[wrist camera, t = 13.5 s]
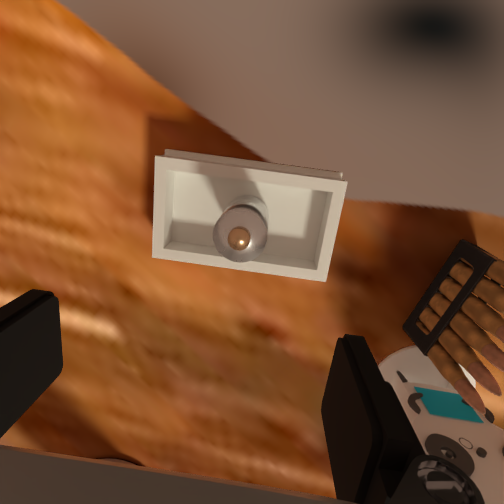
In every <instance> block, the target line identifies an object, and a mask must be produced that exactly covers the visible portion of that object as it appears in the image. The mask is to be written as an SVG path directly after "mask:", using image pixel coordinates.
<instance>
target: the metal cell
mask: <svg viewBox="0 0 504 504" xmlns="http://www.w3.org/2000/svg"><path fill="white" fill-rule="evenodd" d="M268 220H269V213H268V209H267V207H266V205H265V203H264V202H263V201H262V200H261V199H259V198H258V197H256V196H253V195H242V196H239V197H237V198H235V199H234V200H233V201H232V202H231V203H230V204H229V206H228V207H227V208H226V210H225V211H224V212H223V214H222V215H221V216H220V218H219V219H218V220H217V222H216V224H215V226H214V229H213V241H214V245H215V247H216V249H217V250H218V252H219V253H220V254H221V255H222V256H223V257H225V258H226V259H228V260H230V261H233V262H240V263H241V262H248V261H251V260H253V259H255V258H257V257H258V256H259V255H260V254H261V253H262V252H263V250H264V248H265V246H266V243H267V234H268Z"/></svg>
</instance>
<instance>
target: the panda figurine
mask: <svg viewBox="0 0 504 504" xmlns="http://www.w3.org/2000/svg"><path fill="white" fill-rule="evenodd" d="M459 365H460V364H459ZM460 367H461V368H462V370H463V372H464V374H465V376H466V377H467V378H468V380H469V381H470V383H471V384H472V385H473V387H474V388H475V385H476V382H475V379H474V378H473V377H472V376H471V375H470V374H469V373H468V372H467V371H466V370H465V369H464V368H463V367H462V366H461V365H460ZM378 368H379V370H380V372H381V374H382V376H383V378H384V380H385V381H387V382H389V383H390V384H391V385H392V387H393V389H394V391H395V393H396V395H397V397H398V399H399V401H400V403H401V405H402V407H403V409H404V411H405V413H406V415H407V417H408V419H409V421H410V423H411V425H412V427H413V429H414V431H415V433H416V435H417V437H418V439H419V441H420V443H421V445H422V447H423V449H424V451H425V453H426V455H434V456H437V457H440V458H443V459H445V460H447V461H449V462H451V463H453V464H454V465H456V466H457V467H458V468H460V469H461V470H462V471H464V472H465V473H466V474H467V475H468V476H469V477H470V478H471V479H472V480H473V482H474V483H475V484H476V486H477V487H478V489H479V490H480V492H481V494H482V497H483V499H484V502H485V504H504V430H503V429H501V428H500V427H498V426H496V425H494V424H492V423H493V421H494V415H493V414H492V413H491V412H490V411H489V410H488V409H487V408H486V407H485V410H486V414H484V415H485V417H484V415H483V414H481V413H480V412H478V411H476V410H475V409H474V408H473V407H471V406H470V405H469V404H468V403H467V402H466V401H465V400H464V399H463V398H462V397H461V396H460V394H459V393H458V392H457V390H455V389H454V387H453V386H452V385H451V384H450V383H449V382H448V381H447V380H446V379H445V378H444V377H443V376H442V375H441V373H440V372H439V371H438V369H437V368H436V367H435V365H434V364H433V363H432V361H431V360H430V358H429V357H428V356H424V354H423V353H422V352H421V351H420V350H419V348H418V347H417V346H416V345H413V346H409V347H406V348H403V349H400V350H398V351H396V352H394V353H392V354H391V355H389V356H388V357H386V358H385V359H384V360H383V361H382V362H381V363H380V364H379V365H378Z"/></svg>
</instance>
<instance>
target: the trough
mask: <svg viewBox="0 0 504 504" xmlns="http://www.w3.org/2000/svg"><path fill="white" fill-rule="evenodd" d="M342 174H343V173H342V172H336V171H328V170H320V169H314V168H306V167H299V166H291V165H284V164H276V163H269V162H262V161H254V160H247V159H239V158H232V157H224V156H217V155H210V154H202V153H195V152H187V151H180V150H172V149H165V155H158V156H155V175H154V209H153V244H152V257H153V258H160V259H167V260H174V261H181V262H188V263H195V264H202V265H209V266H216V267H223V268H231V269H238V270H245V271H252V272H259V273H266V274H273V275H280V276H287V277H294V278H301V279H308V280H315V281H322V282H326V279H327V275H328V270H329V265H330V261H331V256H332V252H333V247H334V242H335V238H336V233H337V229H338V224H339V219H340V215H341V210H342V206H343V201H344V196H345V191H346V187H347V183H348V182H347V181H345V180H343V179H342ZM242 195H253V196H256V197H258V198H259V199H261V200H262V201H263V202H264V203H265V205H266V207H267V209H268V213H269V220H268V234H267V243H266V246H265V248H264V250H263V252H262V253H261V254H260V255H259V256H258V257H257V258H255V259H253V260H251V261H248V262H241V263H240V262H233V261H230V260H228V259H226V258H225V257H223V256H222V255H221V254H220V253H219V252H218V250H217V249H216V247H215V245H214V241H213V229H214V226H215V224H216V222H217V220H218V219H219V218H220V216H221V215H222V214H223V212H224V211H225V210H226V208H227V207H228V206H229V204H230V203H231V202H232V201H233V200H234V199H235V198H237V197H239V196H242Z"/></svg>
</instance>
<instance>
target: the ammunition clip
mask: <svg viewBox="0 0 504 504" xmlns="http://www.w3.org/2000/svg"><path fill="white" fill-rule="evenodd" d="M473 268H474V269H473ZM484 275H486V276H488V277H490V278H491V280H490V279H488V278H487V277H485V276H484ZM462 285H463V286H462ZM500 285H503V286H504V261H502V260H500V259H498V258H497V257H495V256H493V255H492V254H490V253H488V252H487V251H485V250H483V249H482V248H480V247H478V246H476V245H474V244H472V243H470V242H467V241H465V240H460V242H459V243H458V245H457V246H456V248H455V249H454V251H453V252H452V254H451V255H450V257H449V258H448V260H447V261H446V263H445V264H444V266H443V267H442V269H441V270H440V271H439V273H438V274H437V276H436V277H435V279H434V280H433V282H432V283H431V285H430V286H429V288H428V289H427V291H426V292H425V294H424V295H423V297H422V298H421V300H420V301H419V303H418V304H417V306H416V307H415V309H414V310H413V312H412V313H411V315H410V316H409V317H408V319H407V320H406V322H405V323H404V325H403V330H404V331H405V332H406V333H407V335H408V336H409V337H410V338H411V340H412V341H413V342H414V343H415V345H416V346H417V347H418V348H419V350H420V351H421V352H422V353H423V354H424V356H428V357H429V358H430V360H431V361H432V363H433V364H434V365H435V367H436V368H437V369H438V371H439V372H440V373H441V375H442V376H443V377H444V378H445V379H446V380H447V381H448V382H449V383H450V384H451V385H452V386H453V387H454V389H455V390H457V392H458V393H459V394H460V396H461V397H462V398H463V399H464V400H465V401H466V402H467V403H468V404H469V405H470V406H471V407H473V408H474V409H475V410H476V411H478V412H480V413H481V414H486V410H485V406H484V403H483V401H482V399H481V397H480V396H479V394H478V392H477V391H476V389H475V388H474V387H473V385H472V384H471V383H470V381H469V380H468V378H467V377H466V376H465V374H464V372H463V370H462V368H461V367H460V365H461V366H462V367H463V368H464V369H465V370H466V371H467V372H468V373H469V374H470V375H471V376H472V377H473V378H474V379H475V380H476V381H477V382H478V383H479V384H480V385H481V386H483V387H484V388H485V389H487V390H488V391H490V392H491V393H493V394H495V395H497V396H501V395H502V394H501V390H500V387H499V385H498V383H497V382H496V380H495V378H494V377H493V376H492V374H491V373H490V372H489V370H488V369H487V368H486V367H485V366H484V365H483V363H482V362H481V361H480V360H479V358H478V357H477V355H476V354H475V352H474V351H473V349H472V348H474V349H475V350H477V351H478V352H479V353H480V354H481V355H482V356H484V357H485V358H486V359H487V360H488V361H489V362H490V363H491V364H493V365H494V366H495V367H496V368H498V369H499V370H501V371H503V372H504V352H503V351H502V350H501V349H500V348H498V346H497V345H496V344H495V343H494V342H493V341H492V340H491V339H490V337H489V336H488V334H487V333H486V332H485V331H484V330H486V331H488V332H490V333H492V334H493V335H494V336H495V337H497V338H498V339H500V340H501V341H502V342H503V343H504V319H503V318H502V316H501V315H500V314H498V313H497V312H496V311H494V310H493V309H492V308H491V307H489V306H488V305H487V303H488V304H489V305H491V306H492V307H493V308H495V309H496V310H498V311H499V312H501V313H504V288H502V287H501V286H500ZM471 292H473V293H474V294H476V295H477V296H478V298H477V297H476V296H475V295H474V294H472V293H471ZM460 309H461V310H460ZM475 322H476V323H477V324H478V325H479V326H480V327H479V326H478V325H477V324H476V323H475ZM481 327H482V328H483V329H484V330H483V329H482V328H481ZM470 346H471V347H472V348H471V347H470ZM459 364H460V365H459Z"/></svg>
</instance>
